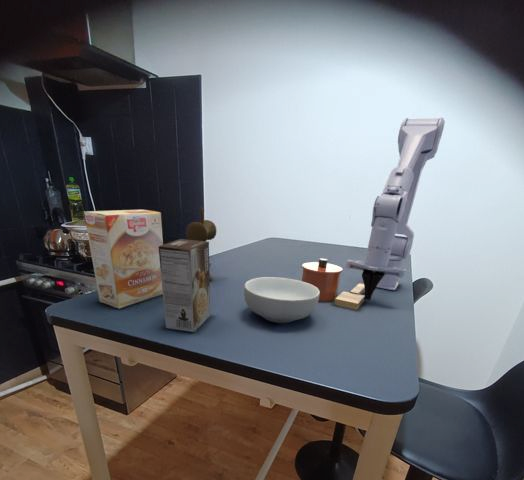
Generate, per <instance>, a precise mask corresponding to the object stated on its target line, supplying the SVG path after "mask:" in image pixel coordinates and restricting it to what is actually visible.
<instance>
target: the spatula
mask: <svg viewBox="0 0 524 480" xmlns="http://www.w3.org/2000/svg"><path fill="white" fill-rule="evenodd" d="M363 294H364V295H363ZM364 302H365V287H364V283H360V282H359V283H358V284H356V285H355V286H354V287H353V288H352V289H351V290H350V291H349V292H348V291H342V292H340V293H339V294H338V295H337V296H336V298H335V300H334V301H333V306H336V307H341V308H344V309H349V310H354V311H357V310H358V309H359V308H360V307H361V306H362V305H363V303H364Z"/></svg>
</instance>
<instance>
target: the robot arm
mask: <svg viewBox="0 0 524 480" xmlns="http://www.w3.org/2000/svg"><path fill="white" fill-rule="evenodd" d="M445 122H446V121H445V120H444V117H440V118H408V117H406V118H404V120H403V121H402V122H401V124H400V127H399V130H398V135H397V145H398V149H397V150H398V154H399V159H398V163H397V166H395V167H394V168H393V169H391V171H390V172H389V174H388V177H387V179H386V181H385V184H384V186H383V189H382V191H381V194H380V195H377V196H376V198H375V199H374V203H373V207H372V216H371V223H370V224H371V225H370V227H371V230H370V234H369V240H368V244H367V250H366V253H365V259H364V260H355V259H347V261H346V265H345V269H348V270H349V269H353V270H359V271H362V273H361V278H362V282H363V284H364V287H365V292H364V296H365V298H364V300H367V301H370V300H371V299H372V297H373V294H374V292H375V290H376V289H377V288H379V289H383V290H384V289H385V290H389V291H396V290H397V288H398V286H399V284H400V283H399V282H398V278H401V279H403V278H404V276H405V274H406V269H407V268H402V264H403V261H404V260H406V259H407V258H409V256H410V254H411V250H412V246H413V242H414V237H415V232H414V230H412V228H411V227H410V226H409V225H408V224H409V223H408V222H409V220H410V216H411V212H412V209H413V205H414V201H415V198H416V194H417V191H418V186H419V184H420V181H421V180H420V179H421V176H422V173H423V169H424V167H425V166H426V163H427V161H429V160H431V159H433V158H435V156H436V154H437V152H438V149H439V146H440V143H441V139H442V134H443V132H444V131H443V130H444V129H445ZM401 235H402V236H401Z"/></svg>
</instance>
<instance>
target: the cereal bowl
mask: <svg viewBox="0 0 524 480" xmlns="http://www.w3.org/2000/svg"><path fill="white" fill-rule="evenodd" d="M319 295H320V291H319V289H318V288H317V287H315V286H313V285H311V284H309V283H306V282H303V281H302V280H298V279H293V278H287V277H279V276H277V277H276V276H262V277H255V278H252V279H249V280H247V281H245V283H244V288H243V296H244V301H245V304H246V305H247V306H248V308H249V309H250V310H251V311H252V312H254V314H257V315H259V316H260V317H262V318H263V319H264V320H267V321H269V322H273V323H277V324H278V323H279V324H280V323H281V324H282V323H283V324H285V323H292V322H294V321H298V320H301V319H304V318H306V317H308V316H310V315H311V314H312V313H313V312H314V311H315V310H316V308H317V306H318V303H319V301H318V300H319Z"/></svg>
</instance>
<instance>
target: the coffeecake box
mask: <svg viewBox="0 0 524 480" xmlns="http://www.w3.org/2000/svg"><path fill="white" fill-rule="evenodd" d="M83 214H84V221H85V226H86V232H87V238H88V243H89V249H90V254H91V260H92V261H91V262H92V266H93V272H94V278H95V284H96V290H97V295H98V300H99V303H102V304H104V305H109V306H110V307H112V308H116V309H119V310H120V309H122V308H126V307H129V306H131V305H134V304H137V303H141V302H144V301H146V300H150V299H153V298H156V297H159V296H163V291H162V280H161V268H160V257H159V246H161V245H164V239H163V225H162V212H160V211H156V210H148V209H121V210H119V209H117V210H116V209H115V210H92V211H91V210H89V211H88V210H87V211H83Z"/></svg>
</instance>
